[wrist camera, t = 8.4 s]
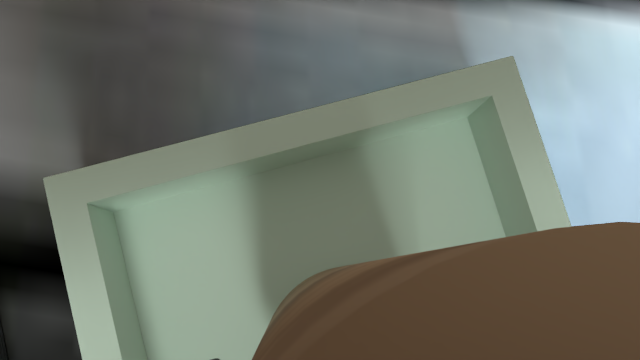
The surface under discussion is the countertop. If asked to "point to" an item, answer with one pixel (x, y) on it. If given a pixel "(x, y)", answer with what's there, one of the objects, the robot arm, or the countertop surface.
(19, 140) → the countertop surface
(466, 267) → the lock pin
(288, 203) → the tray
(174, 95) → the countertop surface
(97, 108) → the countertop surface
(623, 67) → the countertop surface
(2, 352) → the steel collar
